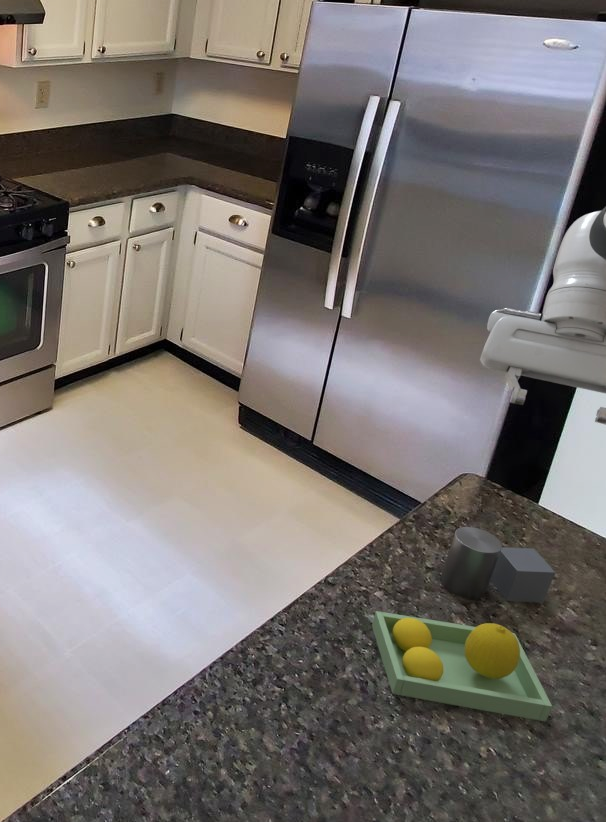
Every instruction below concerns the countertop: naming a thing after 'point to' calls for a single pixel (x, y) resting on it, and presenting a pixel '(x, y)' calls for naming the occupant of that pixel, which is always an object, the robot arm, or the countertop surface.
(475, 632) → the lemon
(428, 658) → the small lemon
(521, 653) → the tray
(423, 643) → the small lemon
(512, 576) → the grey block
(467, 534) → the grey tin
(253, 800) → the countertop surface
